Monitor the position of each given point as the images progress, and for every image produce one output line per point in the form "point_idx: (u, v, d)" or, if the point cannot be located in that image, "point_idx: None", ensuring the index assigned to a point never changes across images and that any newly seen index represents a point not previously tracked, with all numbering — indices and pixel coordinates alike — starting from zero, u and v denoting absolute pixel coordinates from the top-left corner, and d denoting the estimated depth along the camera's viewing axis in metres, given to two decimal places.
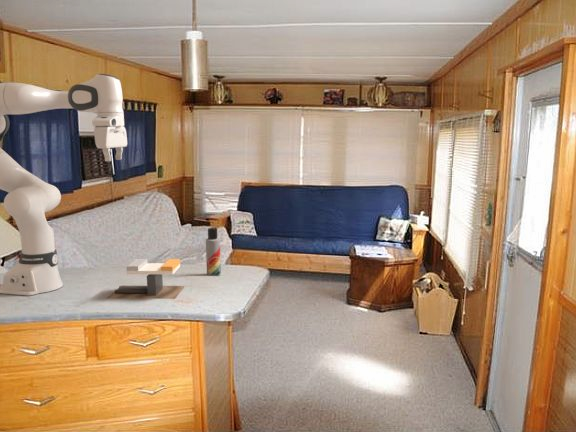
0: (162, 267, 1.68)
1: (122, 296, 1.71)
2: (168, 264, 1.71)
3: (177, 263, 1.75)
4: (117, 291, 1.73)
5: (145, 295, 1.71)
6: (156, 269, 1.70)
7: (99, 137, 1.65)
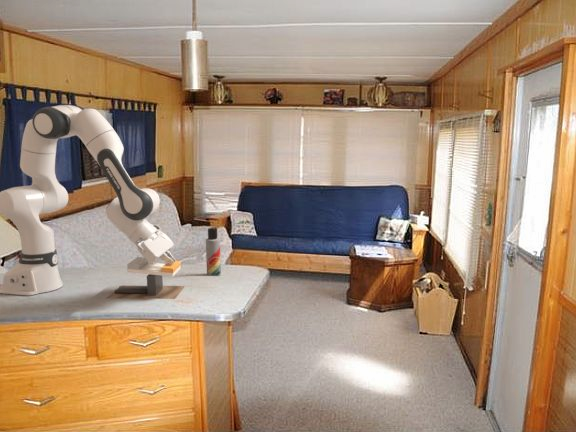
0: (163, 268, 1.68)
1: (122, 296, 1.71)
2: (169, 266, 1.71)
3: (178, 265, 1.75)
4: (117, 291, 1.73)
5: (145, 295, 1.71)
6: (156, 269, 1.70)
7: None
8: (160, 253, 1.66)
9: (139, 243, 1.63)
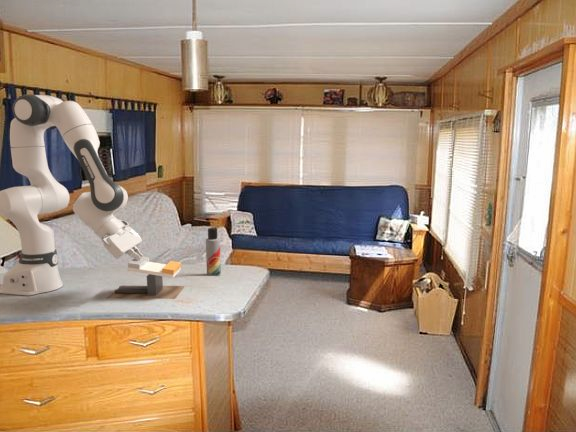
0: (164, 269, 1.68)
1: (122, 296, 1.71)
2: (170, 267, 1.71)
3: (178, 267, 1.75)
4: (117, 291, 1.73)
5: (145, 295, 1.71)
6: (157, 270, 1.70)
7: None
8: (126, 248, 1.66)
9: (105, 238, 1.64)
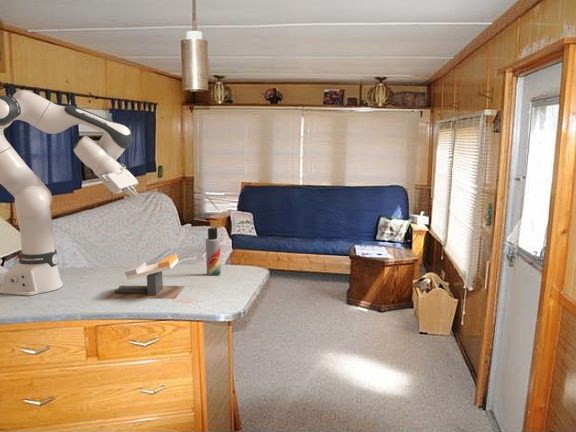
0: (159, 264, 1.68)
1: (122, 296, 1.71)
2: (165, 260, 1.71)
3: (174, 258, 1.74)
4: (117, 291, 1.73)
5: (145, 295, 1.71)
6: (154, 268, 1.70)
7: None
8: (123, 185, 1.81)
9: (103, 175, 1.78)
